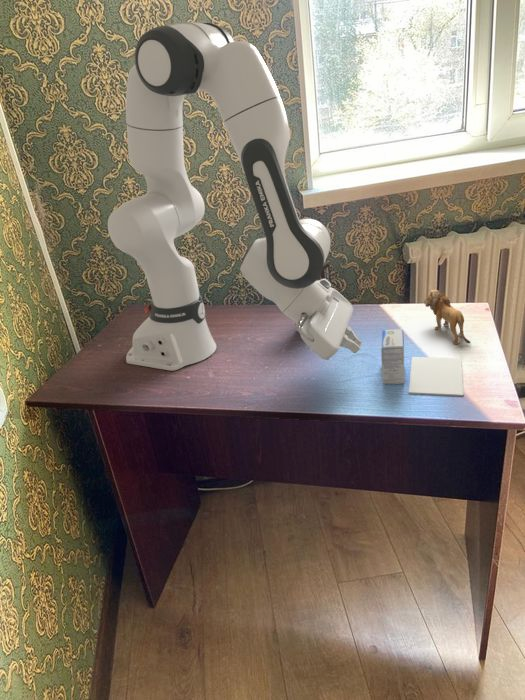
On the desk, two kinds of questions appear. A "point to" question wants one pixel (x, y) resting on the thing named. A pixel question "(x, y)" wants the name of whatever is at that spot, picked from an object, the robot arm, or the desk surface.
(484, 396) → the desk surface
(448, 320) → the lion figurine
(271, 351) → the desk surface
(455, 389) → the mat
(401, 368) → the medicine box
